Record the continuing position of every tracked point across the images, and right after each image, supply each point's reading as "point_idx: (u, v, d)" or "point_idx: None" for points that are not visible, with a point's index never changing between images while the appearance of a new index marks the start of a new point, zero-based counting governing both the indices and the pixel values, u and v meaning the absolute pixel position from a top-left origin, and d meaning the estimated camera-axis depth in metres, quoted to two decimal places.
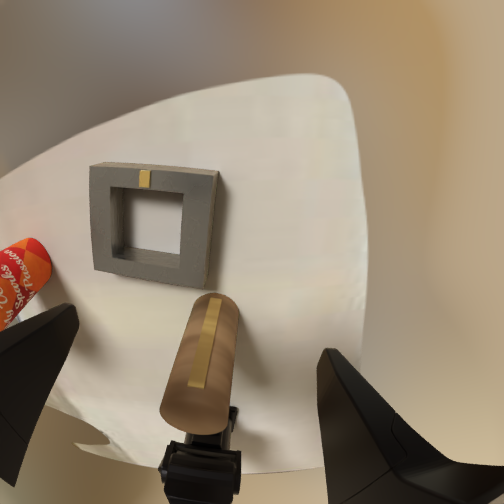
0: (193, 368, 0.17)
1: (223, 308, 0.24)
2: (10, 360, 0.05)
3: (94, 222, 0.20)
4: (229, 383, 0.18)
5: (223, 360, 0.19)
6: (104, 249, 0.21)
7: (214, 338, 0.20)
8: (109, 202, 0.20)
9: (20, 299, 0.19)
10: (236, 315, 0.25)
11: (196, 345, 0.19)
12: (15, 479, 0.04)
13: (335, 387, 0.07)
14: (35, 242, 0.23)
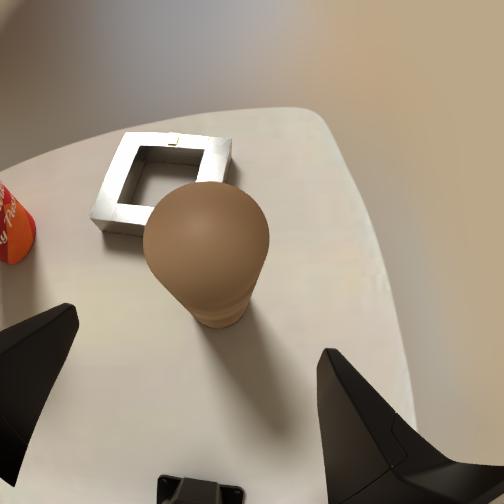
0: None
1: None
2: (10, 360, 0.05)
3: (112, 171, 0.21)
4: None
5: None
6: (110, 195, 0.20)
7: None
8: (134, 155, 0.22)
9: None
10: None
11: None
12: (15, 479, 0.04)
13: (335, 387, 0.07)
14: None
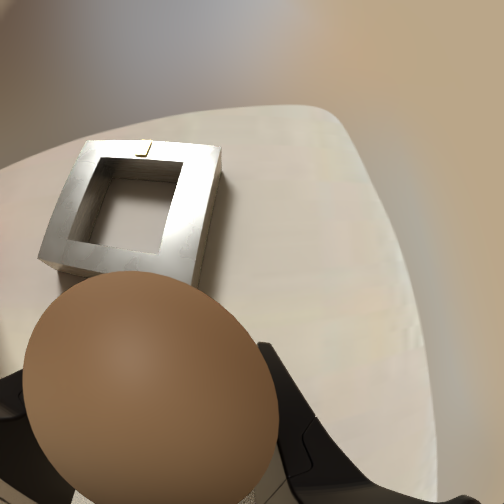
0: None
1: None
2: None
3: (65, 194, 0.15)
4: None
5: None
6: (61, 228, 0.14)
7: None
8: (93, 172, 0.16)
9: None
10: None
11: None
12: None
13: None
14: None
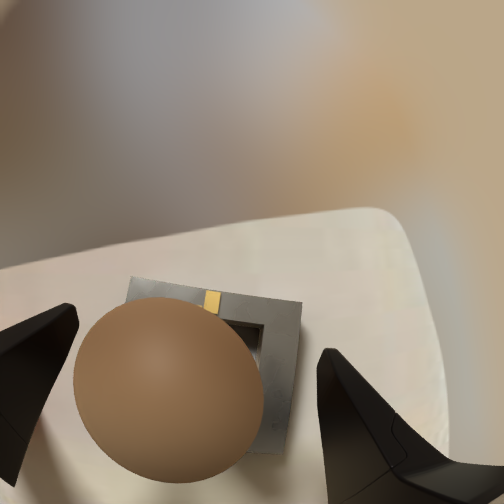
0: None
1: None
2: (10, 360, 0.05)
3: None
4: None
5: None
6: None
7: None
8: None
9: None
10: None
11: None
12: (15, 479, 0.04)
13: (335, 387, 0.07)
14: None
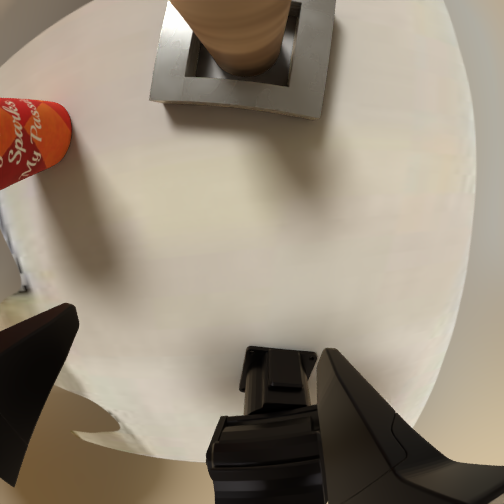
0: None
1: None
2: (10, 360, 0.05)
3: (167, 33, 0.12)
4: None
5: None
6: (173, 67, 0.13)
7: None
8: None
9: (18, 149, 0.11)
10: None
11: None
12: (15, 479, 0.04)
13: (335, 387, 0.07)
14: (56, 103, 0.16)
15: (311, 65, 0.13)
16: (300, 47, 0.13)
